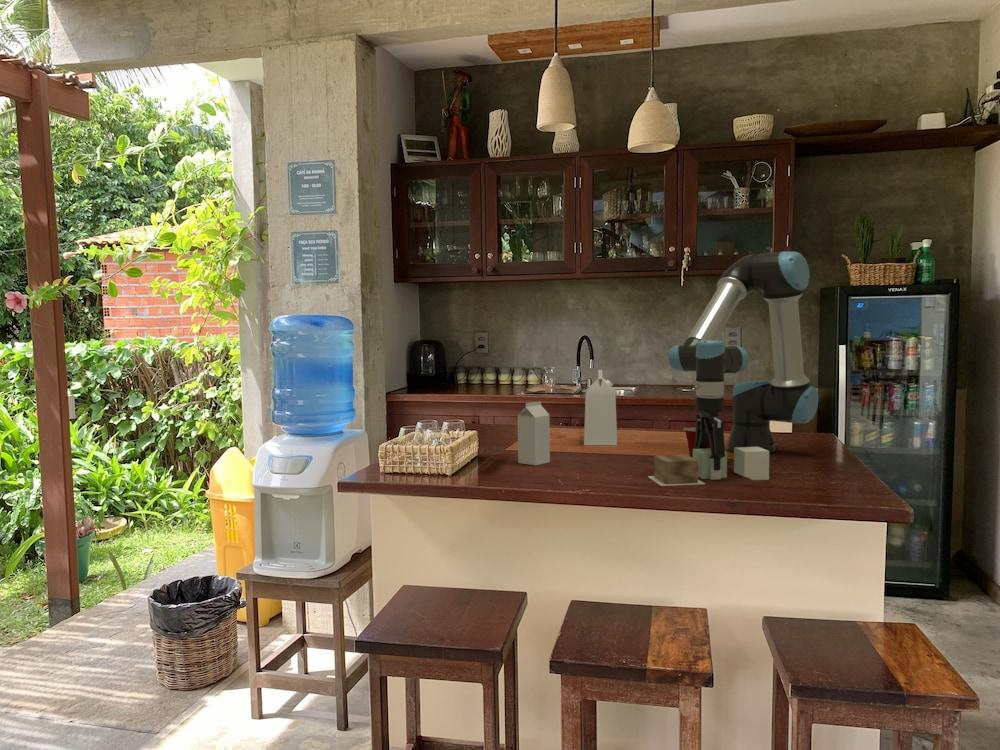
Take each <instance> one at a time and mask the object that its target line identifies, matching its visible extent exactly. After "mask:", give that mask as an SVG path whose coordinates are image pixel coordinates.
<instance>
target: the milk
mask: <svg viewBox="0 0 1000 750" xmlns="http://www.w3.org/2000/svg"><path fill="white" fill-rule="evenodd" d="M613 386H614V384H613V383H612V382H611V381H610V379H607V380H606V379H605V378H604V377H603V369H598V377H597V379H595V381H594V382H593V383H592V384H591V385H589V386H588V387H587V389H586V390H585V398H584V399H585V401H584V402H585V405H584V406H585V407H584V435H583V437H584V438H583V446H584V445H617V446H618V433H617V432H618V431H617V430H618V428H617V424H618V423H617V395H616V389H615V388H614V387H613Z"/></svg>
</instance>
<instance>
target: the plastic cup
mask: <svg viewBox="0 0 1000 750" xmlns="http://www.w3.org/2000/svg"><path fill="white" fill-rule="evenodd" d="M683 430H684V432H685V436H686V441H687V448H688V452H689V454H688V455H689V456H690V457H692V458H693V449H697V448H695V435H696V427H684V428H683ZM707 448H711V447H710V441H708V446H707Z"/></svg>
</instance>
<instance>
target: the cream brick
mask: <svg viewBox="0 0 1000 750" xmlns="http://www.w3.org/2000/svg"><path fill="white" fill-rule="evenodd" d="M733 473H735V474H738V475H739V476H742V477H743V478H747V479H750V480H751V481H769V480H770V453H769V451H768V450H765V449H763V448H760V447H735V448H734V452H733Z"/></svg>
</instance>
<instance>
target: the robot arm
mask: <svg viewBox="0 0 1000 750" xmlns="http://www.w3.org/2000/svg"><path fill="white" fill-rule="evenodd" d="M810 276H811V275H810V268H809V265H808V262H807V260H806V258H805V257H804V256H803V255H802V253H800V252H798V251H786V250H785V251H777V252H776V251H775V252H764V253H752V254H749V255H745V256H743V257H741V258H740V259H738V260H737V261H735V262H734V263H733V264H732V265H730V266H729V267H728V268H727V269H726V270H725V271H724V272H723V274H722V275H721V276H720V278H719V279H718V281H717V283H716V291H715V292H714V294H713V296H712V297H711V299H710V300H709V302H708V304H707V305H706V307H705V309H704V310H703V311H702V314H700V317H699V318H698V320H697V322H696V323H695V325H694V326H693V328H692V329H691V331H690V333H689V334H688V336H687V338H686V339H685V341H684V342H683V344H682V345H681V344H678V345H673V346H672V347H671V348H670V349H669V352H668V359H667V360H668V364H669V366H670V367H671V369H673V370H675V371H680V372H681V371H682V372H695V376H696V377H695V385H693V386H694V389H695V395H696V398H695V410H696V411H697V412H700V414H696V415H695V418H696V420H695V421H696V425H695V428H696V435H695V448H697V449H707V446H708V441H710V447H711V453H712V456H710V457H709V458H710V478H709V479H710V480H711V481H712V480H722V478H721V458H722V457H725V452H726V450H727V449H728V450H727V451H729V450H730V451H729V452H731V453H734V448H735V447H760V448H763V449H765V450H768V451H769V454H772V453H774V452H776V443H775V439H774V437H773V434H772V431H771V428H770V427H771V425H770V422H781V423H790V424H791V423H792V424H807V423H810V421H812V419H813V418H814V417H815V415H816V412H817V409H818V408H819V407H818V405H819V396H820V395H819V391H818V389H817V388H816V387H814V386H811V382H810V378H809V377H807V376H806V375H805V372H804V371H805V370H804V359H803V349H802V348H803V347H802V345H803V344H802V334H801V321H800V309H799V308H800V307H799V306H800V305H799V299H801V297H802V296H803V294H804V290H805V289H807V287H808V286H809V283H810V280H809V279H810ZM752 292H762V299H763V301H764V300H765V301H766V303H768V311H769V312H768V313H769V314H768V315H769V323H770V334H771V335H770V336H771V345H772V347H771V348H772V357H773V372H774V377H773V378H772V380H771V381H770V380H769V379H763V380H762V379H761V380H753V381H743V382H736V383H735V384H734V386H733V388H732V389H733V390H732V429H731V432H730V434H729V436H728V439H727V444H726V448H725V435H724V433H725V432H724V428H725V427H724V423H725V422H724V420H723V419H720V417H719V413H720V412H723V411H724V410H725V399H724V397H723V396H725V374H737V373H739V372H742V371H744V370H745V369H746V368H747V366H748V365H749V353H748V352H747V350H746V349H745V348H744V347H742V346H738V345H729V346H728V345H727V346H726V344H725V342H724V340H721V339H720V340H717V339H718V337H719V335H720V333H721V332H722V330H723V329H724V327H725V326H726V324H727V322H728V320H729V318H730V317H731V316H732V314H733V312H734V311H735V309H736V307H737V305H739V302H740V301H742V300H745V298H746V297H747V295H748V294H749V293H752Z"/></svg>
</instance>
